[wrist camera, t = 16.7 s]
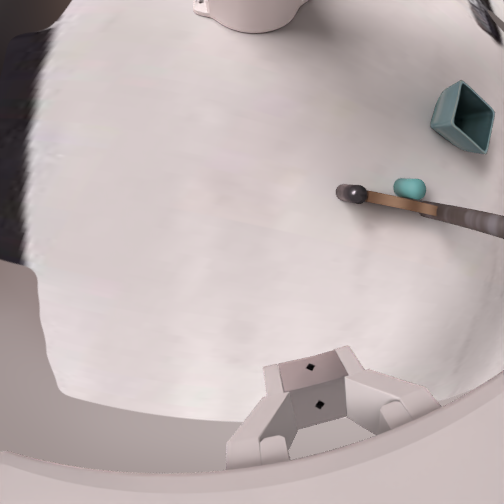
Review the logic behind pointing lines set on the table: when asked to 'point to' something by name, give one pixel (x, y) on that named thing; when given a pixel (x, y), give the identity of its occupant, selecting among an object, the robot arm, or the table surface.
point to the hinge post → (351, 193)
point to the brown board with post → (445, 213)
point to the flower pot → (463, 118)
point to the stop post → (410, 188)
